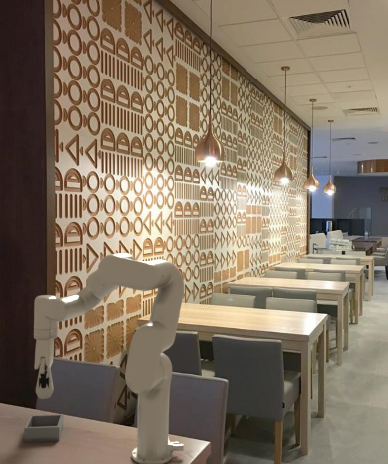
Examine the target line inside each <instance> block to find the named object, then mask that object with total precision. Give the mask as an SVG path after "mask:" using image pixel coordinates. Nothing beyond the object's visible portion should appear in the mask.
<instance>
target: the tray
mask: <svg viewBox="0 0 388 464" xmlns="http://www.w3.org/2000/svg"><path fill="white" fill-rule="evenodd" d="M64 414H65V413H64ZM64 414H63V413H59V414H56V413H55V414H31V415H30V416H29V417H28V420H27V422H26V424H25V426H24V428H23V431H24V432H23V443H31V442H32V443H33V442H34V443H35V442H60V440H61V437H62V432H63V429H64V419H65V418H64Z"/></svg>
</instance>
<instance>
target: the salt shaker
mask: <svg viewBox="0 0 388 464" xmlns="http://www.w3.org/2000/svg"><path fill="white" fill-rule="evenodd" d="M45 368H47V367H45ZM51 370H52V369H51ZM51 370H50V368H49V372H48V377H49V388H48V385H47V383H46V388H41V384H40V387H39V374H38V376H37V382H36V386H35V393H36V395H37V397H38V399H40V400H45V399H50V398H51V396H52V395H53V392H54V390H55V389H54V383H53V376H52V371H51ZM38 371H40V369H39V370H38Z"/></svg>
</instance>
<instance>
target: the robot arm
mask: <svg viewBox="0 0 388 464" xmlns="http://www.w3.org/2000/svg"><path fill="white" fill-rule="evenodd" d="M86 284H87V285H85V287H83V288H82V289H81V290H79V291H78V292H76V293H75V294H74V293H73V294H70V295H68V296H67V295H66V296H63V297H57V296H56V295H52V294H43V295H42V294H41V295H37V296H36V297H35V299H34V306H33V307H34V309H33V310H34V311H33V313H34V314H33V315H34V316H33V317H34V319H33V323H34V324H33V338H34V340H36V342H35V352H34V353H35V354H34V370H38V369H39V370H40V371H39V370H38V371H39V372H38V375H39V387H40V384H41V388H46V383H47V385H48V388H49V377H48V372H49V368H50V370H52V369H51V367H52V365H53V363H54V356H55V354H54V353H55V339H57V338H58V329H59V328H58V325H59V322H65V321H68V320H72V319H75V318H79V317H81V316H83V315H86V314H87V313H88V312H89V311H90V310H92V309H94V308H95V307H97V306H98V305H99V304H101V302H102V301H103V300H104V299H105V297H107V296H108V295H109V294H111V293H112V292H114V291H115V290H117V289H118V288H119V287H123V288H126V289H127V288H128V289H132V290H135V291H139V292H140V291H143V292H149V291H153V290H156V289H157V293H156V295H155V297H154V300H153V303H152V306H151V307H152V308H151V313H150V317H149V320H148V322H147V323H145V324H142V325H141V326H139V327H138V328H137V329H136V330H135V332H134V334H133V335H132V339H131V341H130V346H129V351H128V354H127V355H128V356H127V357H128V358H127V360H126V367H125V375H124V376H125V382H126V385H127V386H128V387H127V388H129V390H130V391H132V392H133V393H135V394H138V395H137V422H136V423H137V424H136V425H137V426H136V427H137V428H136V429H137V430H136V432H137V434H136V435H137V436H136V438H137V439H136V447H134V448H133V450H132V451H131V458H132V460H133V461H135V463H138V464H166V463H168V462H170V461H171V460H173V458H174V452H183V451H184V450H185V449H184V444H183V443H180V442H179V441H171V440H170V438H169V426H170V425H169V424H170V421H169V419H170V416H169V415H170V393H171V392H170V391H171V382H172V376H173V365H172V362H171V359H170V357H169V355H166V354H165V353H164V352H165V351H167V350H168V349H170V348H171V347H172V346H173V345H174V343H175V340H176V334H177V329H178V324H179V319H180V315H181V314H180V313H181V309H182V304H183V299H184V296H185V295H184V293H185V281H184V277H183V275H182V273H181V271H180V269H179V268H178V267H177V266H176V265H175V264H174V263H173V262H171V261H169V260H166V259H152V260H147V261H142V260H137V259H136V257H134V255H132V254H130V253H126V252H121V253H120V252H119V253H110V254H108V255H105V256H104V257H102V259H101V260H100V261H99V263H98V265H97V269H96V270H93V272H92V273H90V274H89V275H88V276H87V278H86ZM45 367H47V368H45ZM179 443H180V444H179Z"/></svg>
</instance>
